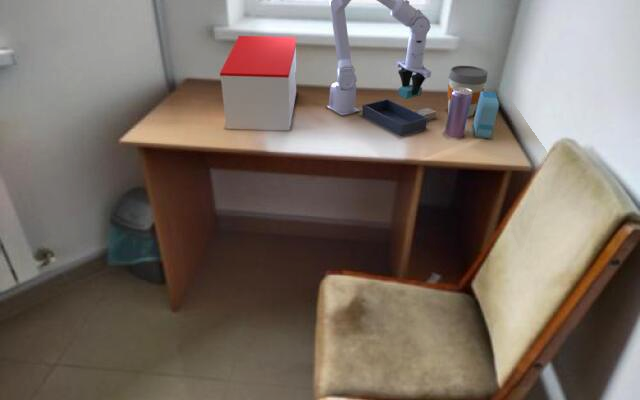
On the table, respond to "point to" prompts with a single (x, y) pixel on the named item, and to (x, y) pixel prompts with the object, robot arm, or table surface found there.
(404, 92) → the block
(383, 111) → the box
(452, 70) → the lidded jar
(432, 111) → the silver metal block
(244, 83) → the red-topped white block
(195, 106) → the table surface
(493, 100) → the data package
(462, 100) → the beverage can
